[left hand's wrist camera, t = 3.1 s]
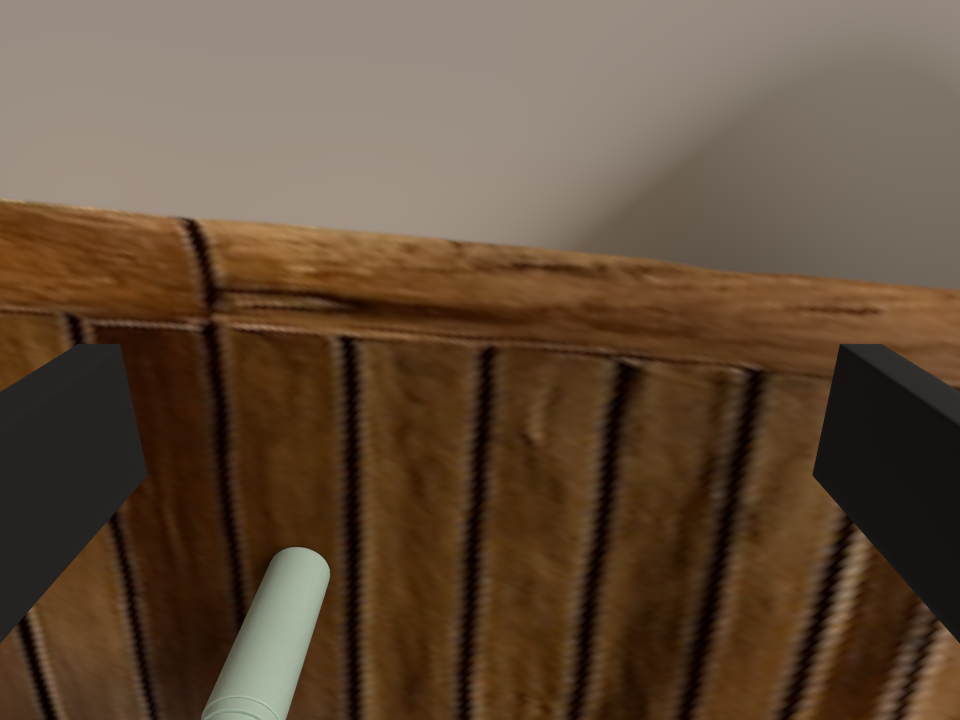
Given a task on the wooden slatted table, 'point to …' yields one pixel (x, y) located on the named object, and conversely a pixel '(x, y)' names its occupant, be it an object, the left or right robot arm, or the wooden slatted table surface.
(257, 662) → the bottle
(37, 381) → the left robot arm
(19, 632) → the wooden slatted table surface
